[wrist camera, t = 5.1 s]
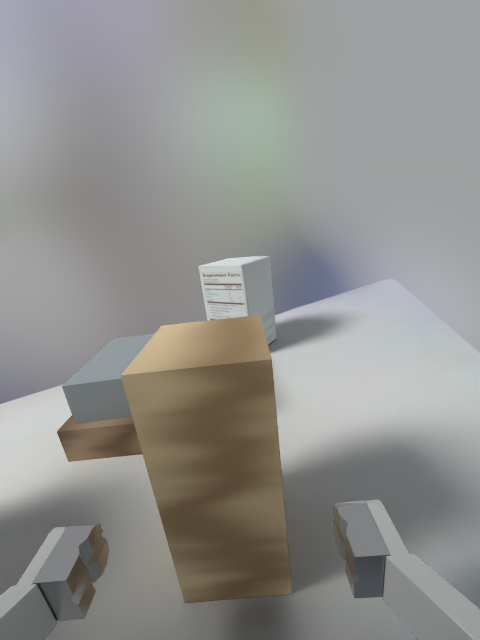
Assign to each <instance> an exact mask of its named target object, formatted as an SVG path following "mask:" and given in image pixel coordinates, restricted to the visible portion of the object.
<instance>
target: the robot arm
mask: <svg viewBox="0 0 480 640" xmlns="http://www.w3.org/2000/svg"><path fill="white" fill-rule="evenodd" d="M333 511H334V514H335V517H336V518H335V519H334V532H335V538H336V542H337V546H338V549H339V552H340V555H341V556H342V557H343V558H344V559H345V571H346V575H347V578H348V581H349V584H350V587H351V590H352V593H353V596H354V598H369V597H383V600H384V601H385V602H386V603H387V604H388V606H389V607H390V608H391V609H392V610H393V612H394V613H395V614H396V615H397V616H398V618H399V619H400V620H401V621H402V622H403V624H404V625H405V626H406V627H407V628H408V630H409V631H410V632H411V633H412V634H413V636H414V637H415V638H416V639H417V640H480V609H479V608H478V607H477V606H476V605H475V604H473V603H472V602H471V601H470V600H469V599H467V598H466V597H465V596H464V595H463V594H462V593H460V592H459V591H458V590H457V589H456V588H455V587H453V586H452V585H451V584H450V583H449V582H447V581H446V580H445V579H444V578H443V577H442V576H440V575H439V574H438V573H437V572H436V571H434V570H433V569H432V568H431V567H430V566H429V565H427V564H426V563H425V562H424V561H423V560H422V559H420V558H419V557H418V556H417V555H416V554H410V553H409V552H408V550H407V548H406V546H405V544H404V542H403V540H402V539H401V537H400V535H399V533H398V531H397V529H396V527H395V526H394V524H393V522H392V520H391V518H390V516H389V514H388V513H387V511H386V509H385V507H384V505H383V503H382V502H381V501H380V500H379V499H375V500H366V501H363V500H360V501H351V502H341V503H334V505H333ZM102 532H103V530H102V528H101V526H100V524H96V525H82V526H66V527H55V528H54V529H53V530H52V531H51V532H50V533H49V534H48V536H47V537H46V539H45V540H44V542H43V544H42V545H41V547H40V548H39V550H38V551H37V553H36V555H35V556H34V558H33V559H32V561H31V562H30V564H29V565H28V567H27V569H26V570H25V572H24V573H23V575H22V576H21V578H20V580H19V581H18V583H17V584H16V586H11V587H9V588H8V589H7V590H6V591H5V592H4V593H3V594H2V595H0V640H45V639H46V637H47V636H48V635H49V634H50V632H51V631H52V630H53V629H54V627H55V626H56V625H57V621H66V620H75V619H84V618H85V616H86V613H87V611H88V609H89V606H90V604H91V601H92V599H93V596H94V594H95V591H96V590H95V582H96V581H97V579H98V578H99V577H100V576H101V575H102V574H103V571H104V569H105V566H106V563H107V558H108V553H109V550H108V543H107V540H106V539H104V538H103V537H102V536H101V534H102Z"/></svg>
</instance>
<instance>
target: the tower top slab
mask: <svg viewBox="0 0 480 640" xmlns="http://www.w3.org/2000/svg"><path fill="white" fill-rule="evenodd" d="M153 336H154V334H148V335H141V336H132V337H125V338H117V339H113V340H111V341H110V342H109V343H108V344H107V345H106V346H105V347H104V348H103V349H102V350H101V351H100V352H99V353H97V355H95V356H94V357H93V358H92V359H91V360H90V361H89V362H88V363H87V364H86V365H84V366H83V367H82V368H81V369H80V370H79V371H78V372H77V373H76V374H75V375H74V376H73V377H72V378H71V379H69V380H68V381H67V382H66V383H65V384H64V385H63V386H62V387H63V390H64V393H65V396H66V399H67V401H68V404H69V407H70V410H71V413H72V415H73V418H74V421H75V424H81V423H88V422H96V421H103V420H110V419H118V418H125V417H132V414H131V411H130V407H129V404H128V400H127V397H126V393H125V390H124V386H123V383H122V379H121V376H120V375H121V374H122V373H123V372H124V370H125V369H126V368H127V367H128V366H129V364H130V363H131V362H132V361H133V360H134V358H135V357H136V356H137V355H138V354H139V352H140V351H141V350H142V349H143V348H144V346H145V345H146V344H147V343H148V342H149V340H150V339H151V338H152V337H153Z"/></svg>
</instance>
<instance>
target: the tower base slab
mask: <svg viewBox="0 0 480 640" xmlns="http://www.w3.org/2000/svg"><path fill="white" fill-rule="evenodd" d="M57 433H58V436H59V438H60V441H61V444H62V446H63V449H64V451H65V454H66V456H67V459H68V461H69V462H70V461H80V460H90V459H99V458H109V457H118V456H128V455H138V454H143V453H142V450H141V446H140V442H139V439H138V435H137V432H136V428H135V425H134V421H133V418H132V417H125V418H118V419H110V420H103V421H96V422H88V423H81V424H75V421H74V418H73V415H72V416H71V417H70V418H69V419H68V420H67V421H66V422H65V423H64V425H63V426H62V427H61V428H60V429H59V430H58V431H57Z"/></svg>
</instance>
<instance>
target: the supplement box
mask: <svg viewBox="0 0 480 640" xmlns="http://www.w3.org/2000/svg"><path fill="white" fill-rule="evenodd" d="M199 272H200V278H201V284H202V290H203V297H204V303H205V308H206V315H207V320H208V321H209V320H218V319H226V318H235V317H244V316H253V315H260V317H261V321H262V325H263V328H264V332H265V336H266V340H267V344H268V345H269V344H270V343H271V342H272V341H274V340H275V339H276V338H277V337H276V326H275V315H274V303H273V291H272V280H271V268H270V258H269V256H256V257H241V258H229V259H225V260H221V261H218V262H213V263H209V264H205V265H202V266H199Z"/></svg>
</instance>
